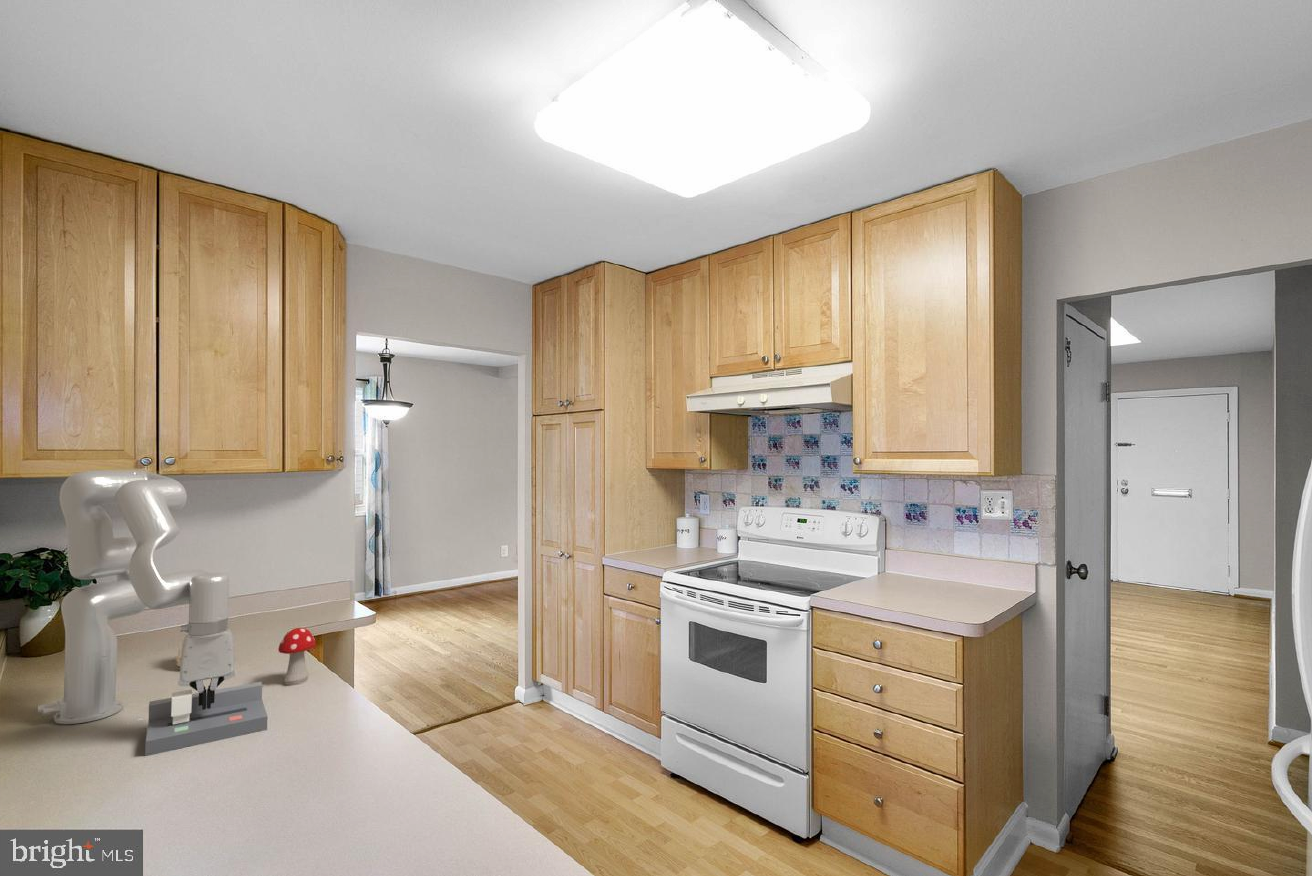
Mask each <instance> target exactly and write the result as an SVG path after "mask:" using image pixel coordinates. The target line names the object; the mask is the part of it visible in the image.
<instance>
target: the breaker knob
mask: <svg viewBox="0 0 1312 876" xmlns="http://www.w3.org/2000/svg"><path fill="white" fill-rule="evenodd" d="M192 689H193V688H192ZM192 689H185V690H181V691H175V692H172V693H171V698H172V709H171V717H173V724H178V723H183V722H188V721H189V717H190V713H191V707H192V694H193V691H192Z"/></svg>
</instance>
